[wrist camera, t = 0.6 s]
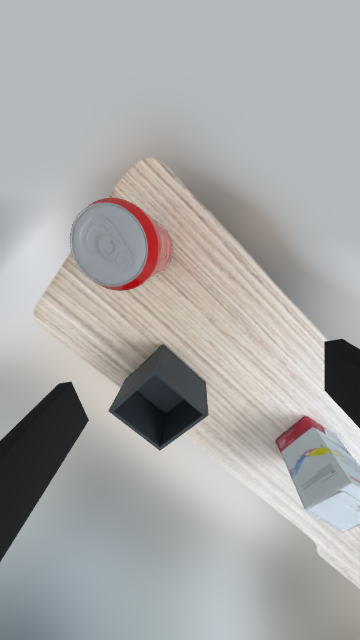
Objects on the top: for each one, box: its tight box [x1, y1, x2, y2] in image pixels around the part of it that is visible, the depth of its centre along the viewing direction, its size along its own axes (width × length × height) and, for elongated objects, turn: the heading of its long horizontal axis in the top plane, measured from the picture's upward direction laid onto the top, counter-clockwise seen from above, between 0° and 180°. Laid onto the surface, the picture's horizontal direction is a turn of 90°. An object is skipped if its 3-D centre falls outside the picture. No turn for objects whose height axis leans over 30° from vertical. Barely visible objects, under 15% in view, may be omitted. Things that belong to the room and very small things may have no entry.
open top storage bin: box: [109, 345, 208, 450], centre depth 34 cm, size 11×11×8 cm
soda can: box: [70, 198, 173, 291], centre depth 24 cm, size 8×8×15 cm
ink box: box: [276, 417, 360, 533], centre depth 34 cm, size 9×9×12 cm
